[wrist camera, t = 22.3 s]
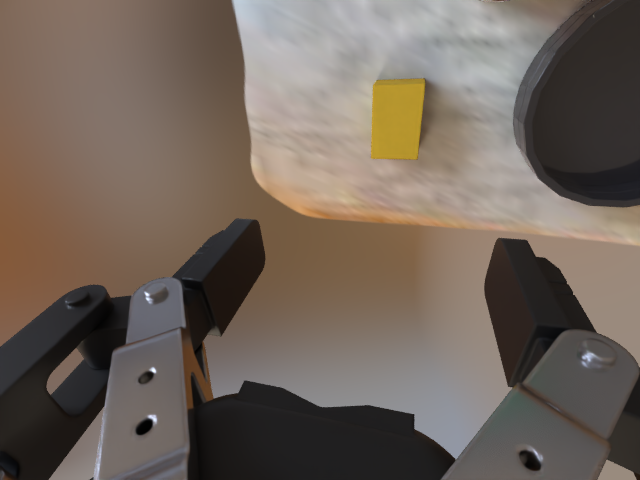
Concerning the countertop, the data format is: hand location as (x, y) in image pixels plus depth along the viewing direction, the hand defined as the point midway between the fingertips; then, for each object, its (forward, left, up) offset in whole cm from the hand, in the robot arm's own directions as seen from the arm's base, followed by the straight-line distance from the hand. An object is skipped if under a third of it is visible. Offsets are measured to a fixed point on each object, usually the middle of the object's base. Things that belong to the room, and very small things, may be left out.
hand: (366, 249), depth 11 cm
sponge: (0, 0, -22) cm, 22 cm away
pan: (-1, +17, -22) cm, 28 cm away
